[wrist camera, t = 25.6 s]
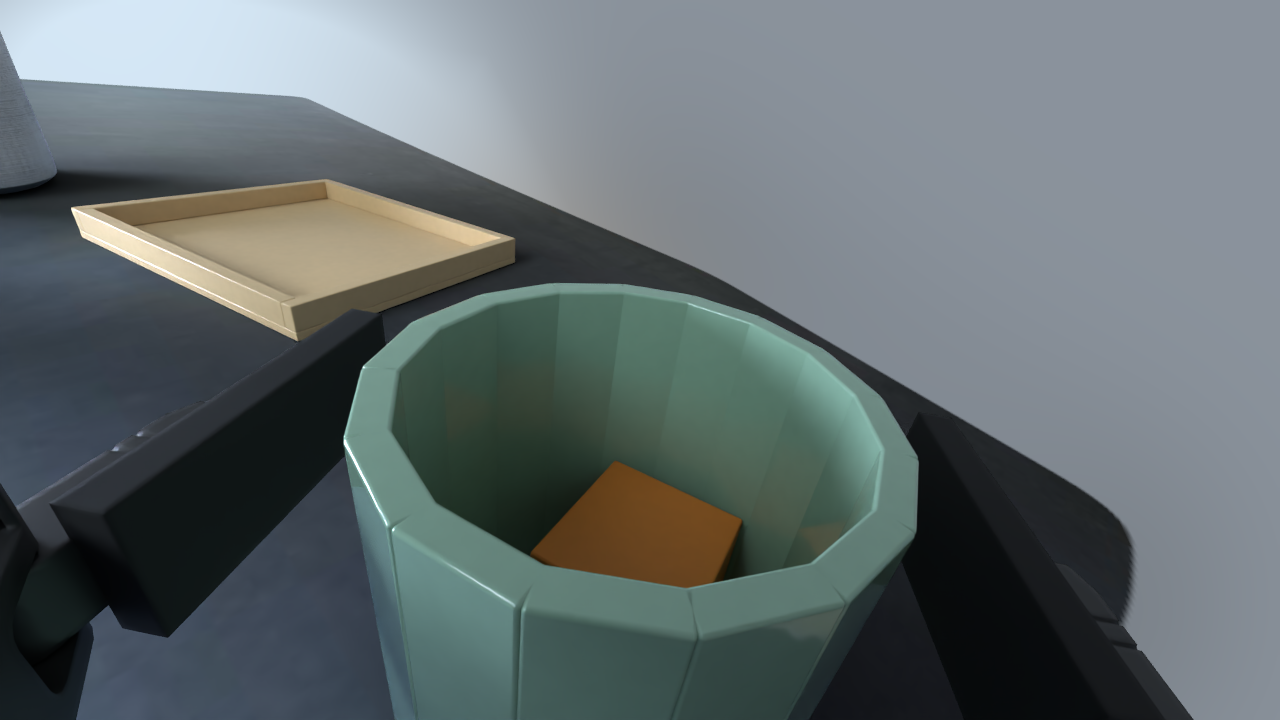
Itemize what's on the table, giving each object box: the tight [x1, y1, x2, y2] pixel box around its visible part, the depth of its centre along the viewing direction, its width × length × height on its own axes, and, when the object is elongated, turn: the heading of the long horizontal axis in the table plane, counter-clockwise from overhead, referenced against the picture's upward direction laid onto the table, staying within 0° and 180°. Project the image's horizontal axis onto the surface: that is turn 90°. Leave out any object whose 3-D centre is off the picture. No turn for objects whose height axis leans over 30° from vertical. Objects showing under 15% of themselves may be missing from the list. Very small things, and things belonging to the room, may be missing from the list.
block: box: [530, 461, 742, 588], centre depth 14 cm, size 4×4×4 cm
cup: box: [343, 283, 919, 720], centre depth 12 cm, size 9×9×10 cm
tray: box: [71, 179, 515, 341], centre depth 37 cm, size 22×18×2 cm
